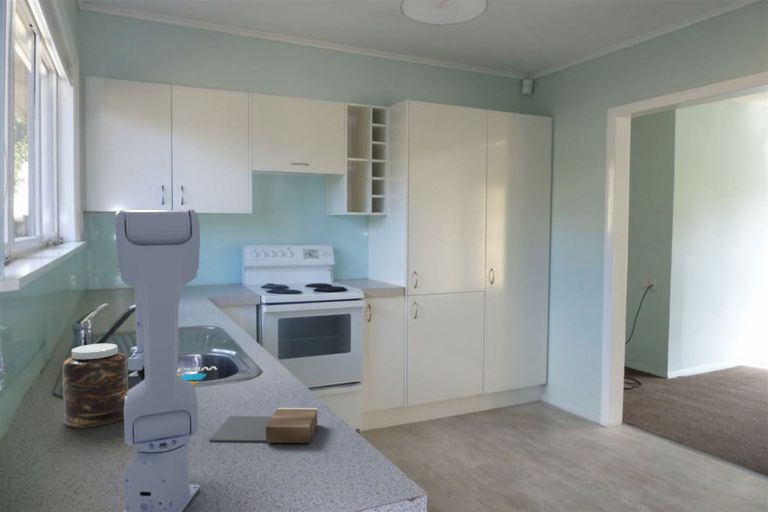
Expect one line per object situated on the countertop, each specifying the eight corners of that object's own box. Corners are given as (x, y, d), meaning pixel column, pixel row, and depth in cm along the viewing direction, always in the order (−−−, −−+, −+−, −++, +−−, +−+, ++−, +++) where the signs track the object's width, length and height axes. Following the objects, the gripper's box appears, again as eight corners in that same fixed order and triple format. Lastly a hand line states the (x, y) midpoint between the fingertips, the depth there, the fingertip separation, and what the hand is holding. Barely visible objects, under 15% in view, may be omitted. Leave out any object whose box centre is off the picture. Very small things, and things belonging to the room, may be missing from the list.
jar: (105, 405, 122) (102, 339, 121) (140, 413, 116) (138, 344, 115) (52, 422, 111) (49, 350, 110) (88, 432, 106) (85, 357, 105)
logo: (217, 364, 153) (215, 385, 134) (217, 368, 153) (215, 389, 134) (130, 370, 147) (115, 393, 128) (131, 374, 147) (115, 397, 128)
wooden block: (308, 427, 99) (317, 408, 109) (265, 426, 100) (278, 407, 109) (309, 442, 99) (317, 422, 109) (266, 442, 100) (278, 422, 110)
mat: (304, 442, 101) (304, 440, 101) (209, 441, 101) (209, 439, 101) (315, 418, 113) (315, 417, 113) (229, 418, 113) (229, 416, 113)
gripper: (151, 314, 100) (153, 386, 101) (107, 331, 85) (111, 414, 86) (188, 314, 99) (191, 387, 100) (151, 331, 85) (154, 415, 86)
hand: (156, 400), depth 93 cm, fingers closed
